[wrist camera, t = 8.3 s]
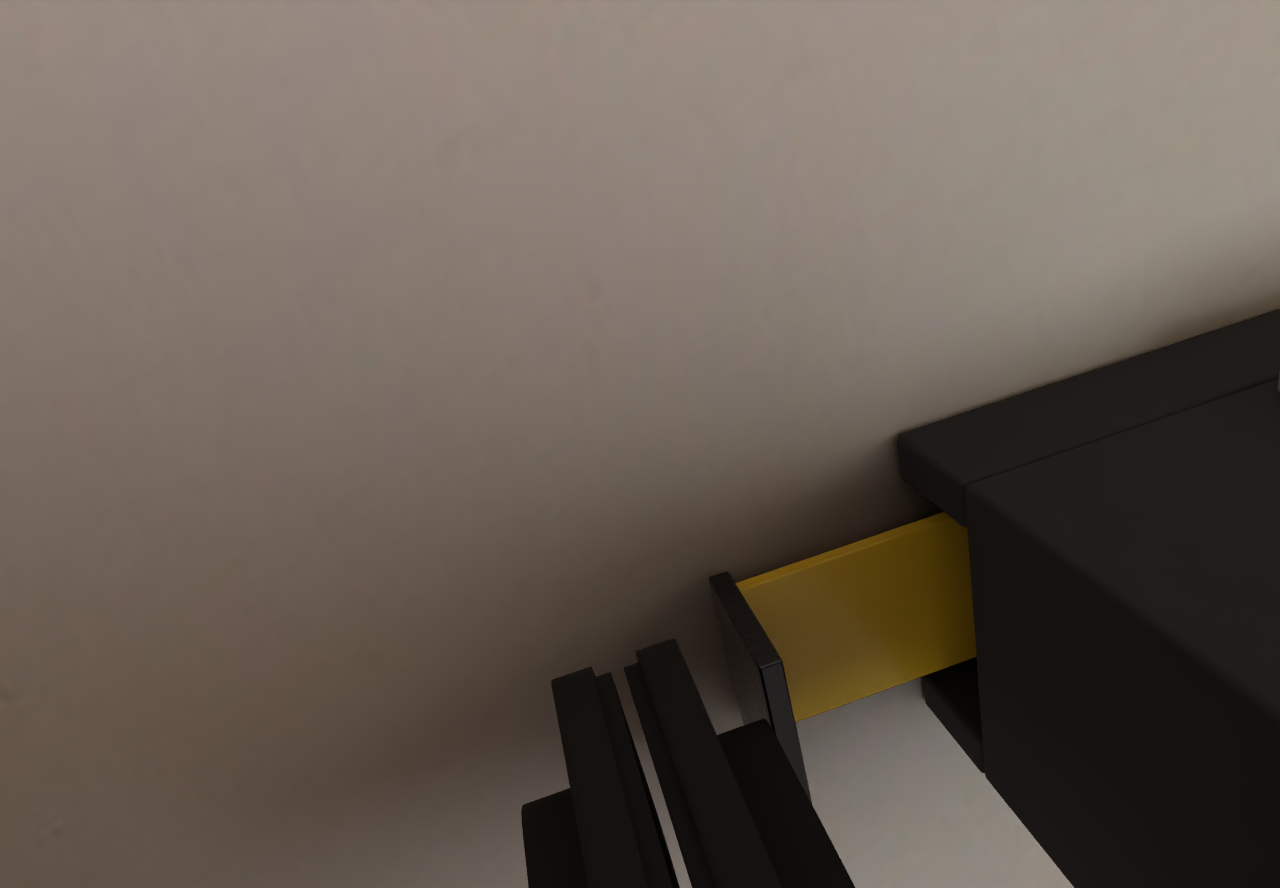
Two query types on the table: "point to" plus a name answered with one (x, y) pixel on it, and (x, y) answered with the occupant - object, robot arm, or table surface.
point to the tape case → (1125, 609)
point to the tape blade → (847, 624)
